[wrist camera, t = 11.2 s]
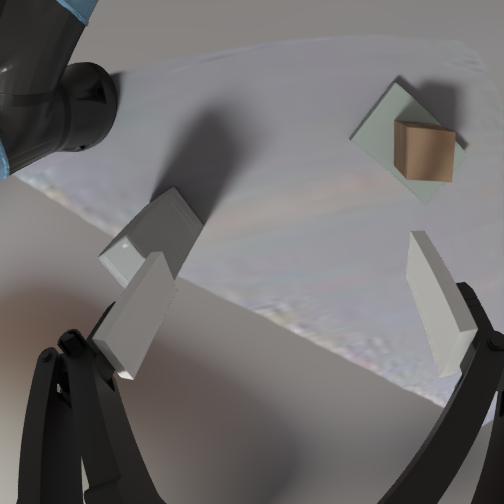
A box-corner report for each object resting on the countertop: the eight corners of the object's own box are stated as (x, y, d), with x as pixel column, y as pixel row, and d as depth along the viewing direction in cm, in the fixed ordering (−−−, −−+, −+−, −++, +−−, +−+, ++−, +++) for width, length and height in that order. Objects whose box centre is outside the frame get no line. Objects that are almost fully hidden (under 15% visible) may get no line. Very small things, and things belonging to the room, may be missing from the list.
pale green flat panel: (349, 138, 35) (355, 147, 30) (392, 82, 30) (405, 82, 25) (421, 201, 37) (434, 217, 32) (462, 151, 32) (480, 162, 27)
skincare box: (147, 203, 46) (90, 256, 32) (179, 182, 43) (122, 232, 29) (178, 244, 49) (133, 307, 36) (210, 226, 46) (170, 291, 33)
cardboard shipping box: (393, 165, 34) (406, 179, 29) (394, 120, 31) (408, 127, 26) (433, 167, 33) (451, 182, 28) (435, 124, 30) (455, 132, 25)
